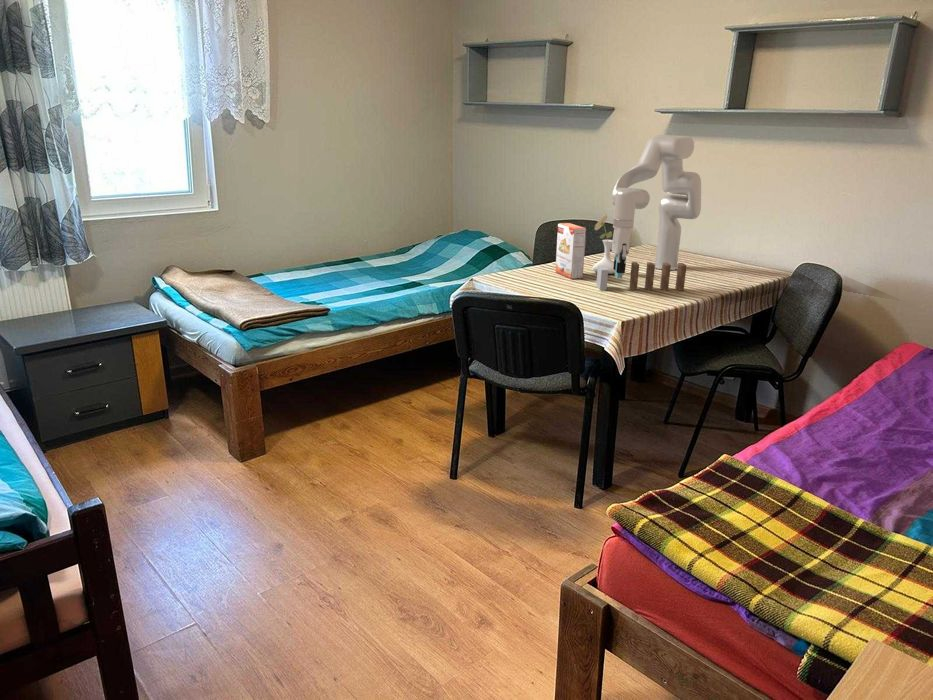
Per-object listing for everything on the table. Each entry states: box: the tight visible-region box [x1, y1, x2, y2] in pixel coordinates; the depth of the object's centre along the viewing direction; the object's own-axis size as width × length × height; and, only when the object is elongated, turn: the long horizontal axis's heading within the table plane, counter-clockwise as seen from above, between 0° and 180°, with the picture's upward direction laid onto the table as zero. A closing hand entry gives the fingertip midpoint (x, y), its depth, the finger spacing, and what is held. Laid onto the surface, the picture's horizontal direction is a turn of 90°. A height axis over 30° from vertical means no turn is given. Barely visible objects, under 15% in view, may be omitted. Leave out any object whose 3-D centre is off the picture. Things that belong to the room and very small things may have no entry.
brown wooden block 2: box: [674, 262, 687, 292], centre depth 276 cm, size 2×5×10 cm, turn 0°
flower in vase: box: [591, 214, 615, 275], centre depth 300 cm, size 13×11×25 cm
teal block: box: [614, 253, 624, 279], centre depth 274 cm, size 2×5×10 cm, turn 0°
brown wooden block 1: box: [629, 261, 640, 291], centre depth 276 cm, size 2×5×10 cm, turn 0°
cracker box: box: [555, 222, 587, 280], centre depth 295 cm, size 14×6×21 cm, turn 21°
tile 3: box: [644, 261, 656, 291], centre depth 276 cm, size 2×5×10 cm, turn 0°
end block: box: [596, 266, 609, 291], centre depth 276 cm, size 8×2×8 cm, turn 0°
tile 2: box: [659, 263, 671, 292], centre depth 276 cm, size 2×5×10 cm, turn 0°
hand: (619, 270), depth 275 cm, fingers closed on teal block, 4 cm apart
